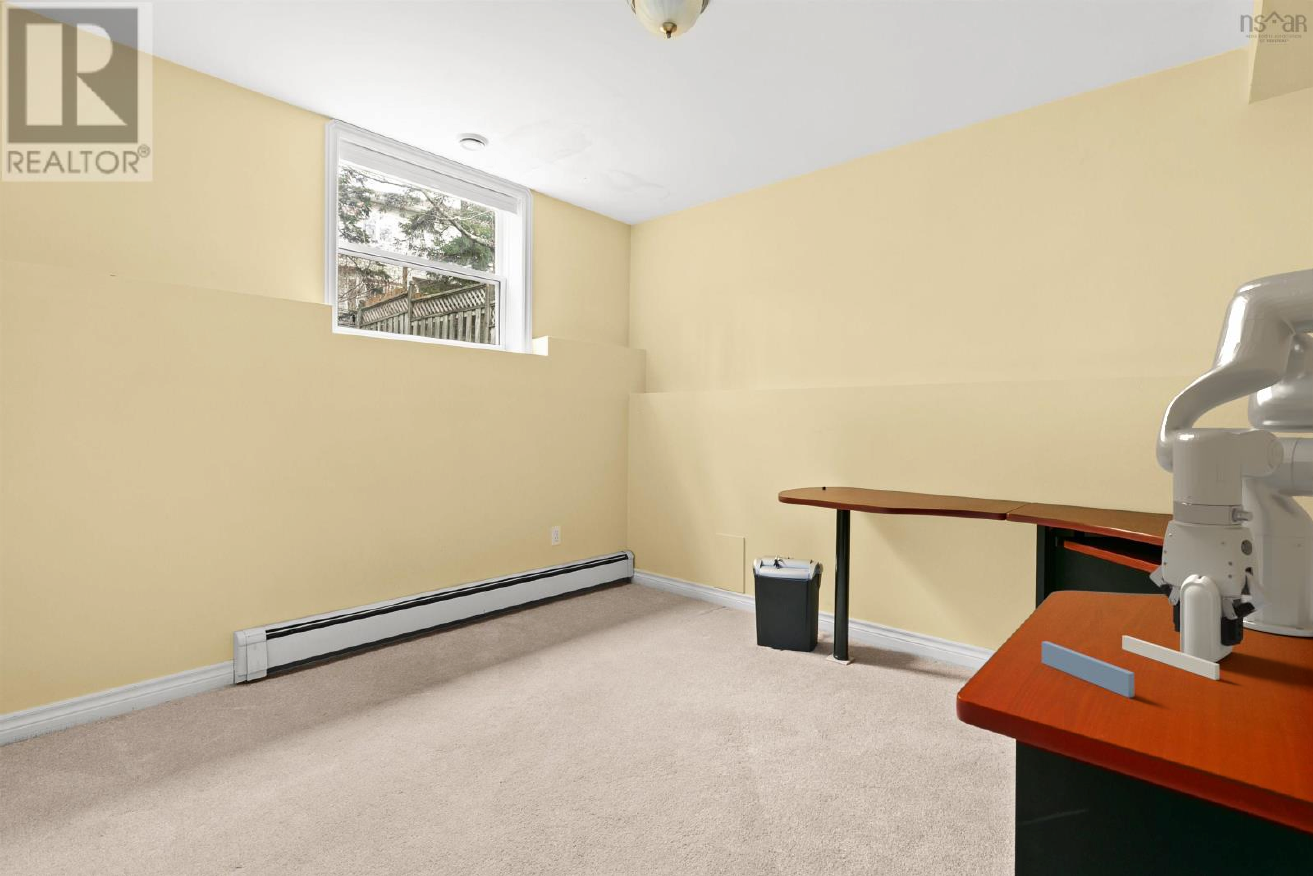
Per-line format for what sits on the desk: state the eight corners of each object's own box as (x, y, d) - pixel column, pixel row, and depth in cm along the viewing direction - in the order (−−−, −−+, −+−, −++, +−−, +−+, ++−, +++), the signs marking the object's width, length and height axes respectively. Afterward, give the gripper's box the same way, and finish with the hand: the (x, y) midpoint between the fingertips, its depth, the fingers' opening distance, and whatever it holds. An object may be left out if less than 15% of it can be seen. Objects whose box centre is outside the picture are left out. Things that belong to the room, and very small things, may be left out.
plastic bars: (1126, 648, 93) (1126, 628, 92) (1219, 679, 81) (1219, 657, 81) (1041, 662, 87) (1041, 642, 87) (1128, 697, 76) (1128, 674, 76)
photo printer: (1200, 642, 94) (1199, 563, 94) (1237, 651, 90) (1237, 568, 90) (1175, 658, 88) (1175, 573, 88) (1214, 667, 85) (1214, 579, 84)
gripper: (1299, 521, 82) (1299, 655, 82) (1160, 506, 98) (1161, 617, 99) (1263, 525, 80) (1263, 662, 80) (1127, 509, 96) (1128, 623, 96)
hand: (1206, 636), depth 89 cm, fingers closed on photo printer, 5 cm apart
